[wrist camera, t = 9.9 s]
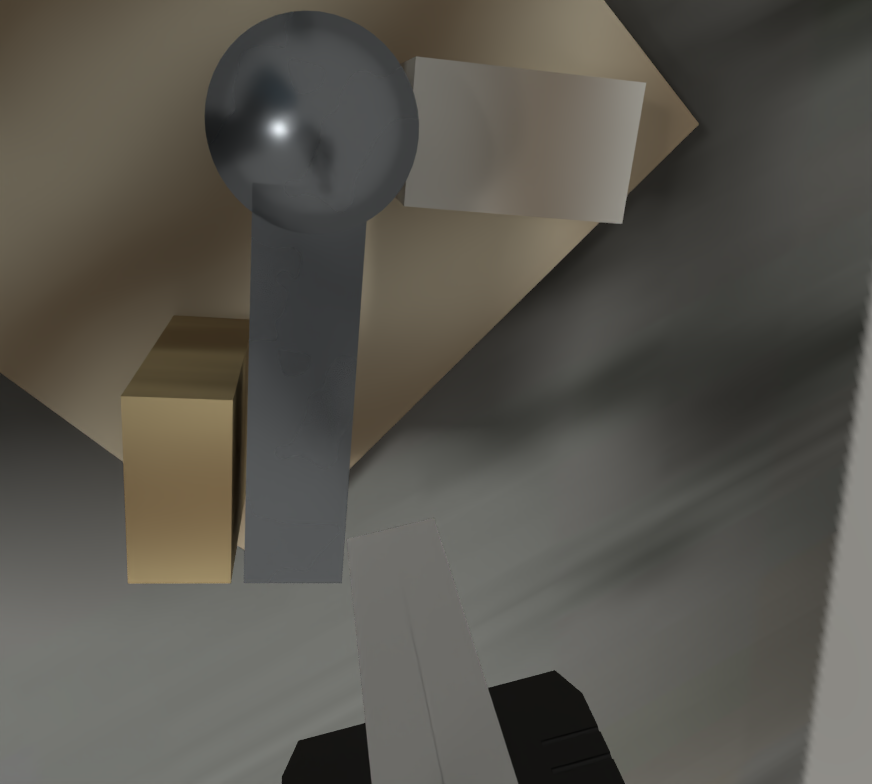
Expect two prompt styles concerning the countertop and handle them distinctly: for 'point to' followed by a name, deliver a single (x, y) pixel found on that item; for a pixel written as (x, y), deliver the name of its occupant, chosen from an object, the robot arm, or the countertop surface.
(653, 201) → the countertop surface
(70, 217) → the lock plate
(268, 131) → the swing bar
